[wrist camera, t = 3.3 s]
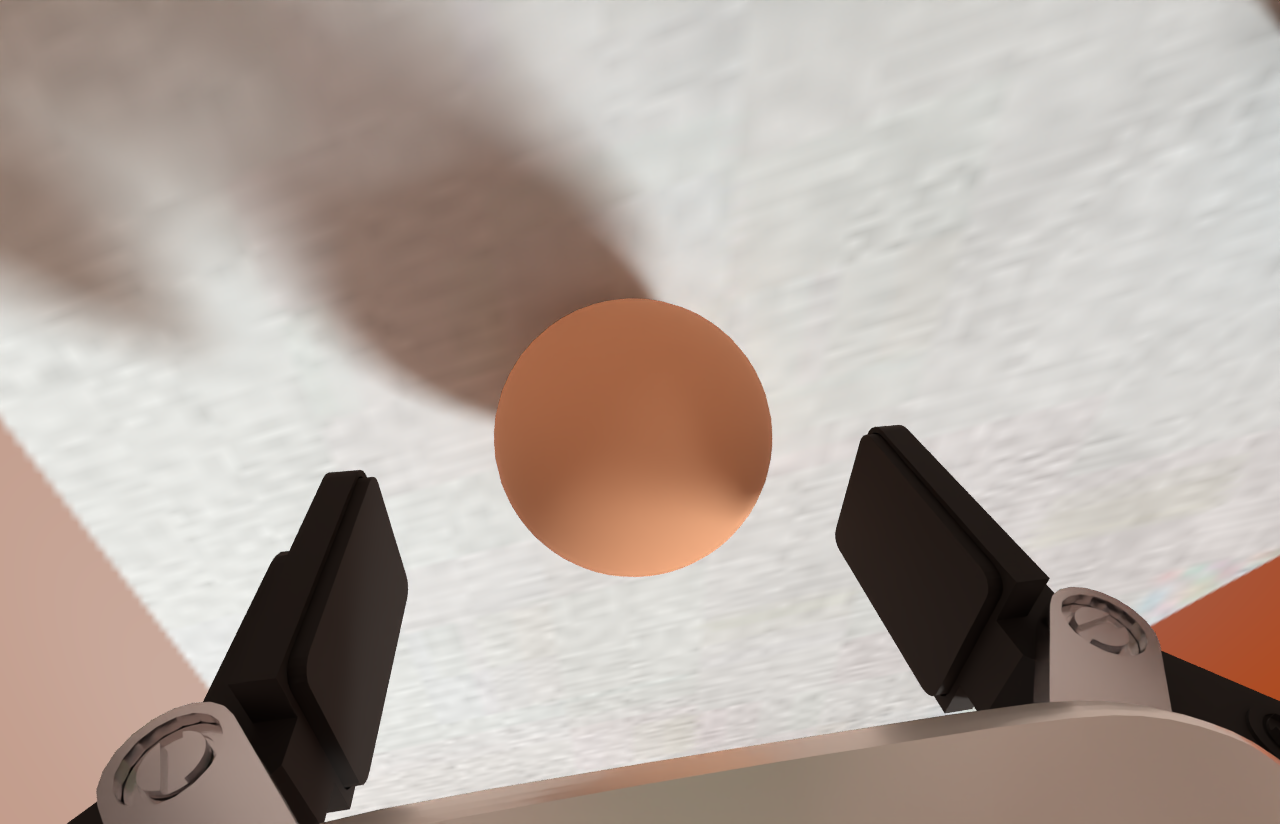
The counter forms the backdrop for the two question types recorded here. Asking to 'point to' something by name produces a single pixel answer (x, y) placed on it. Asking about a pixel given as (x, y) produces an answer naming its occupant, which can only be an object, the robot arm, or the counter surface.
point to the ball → (633, 437)
